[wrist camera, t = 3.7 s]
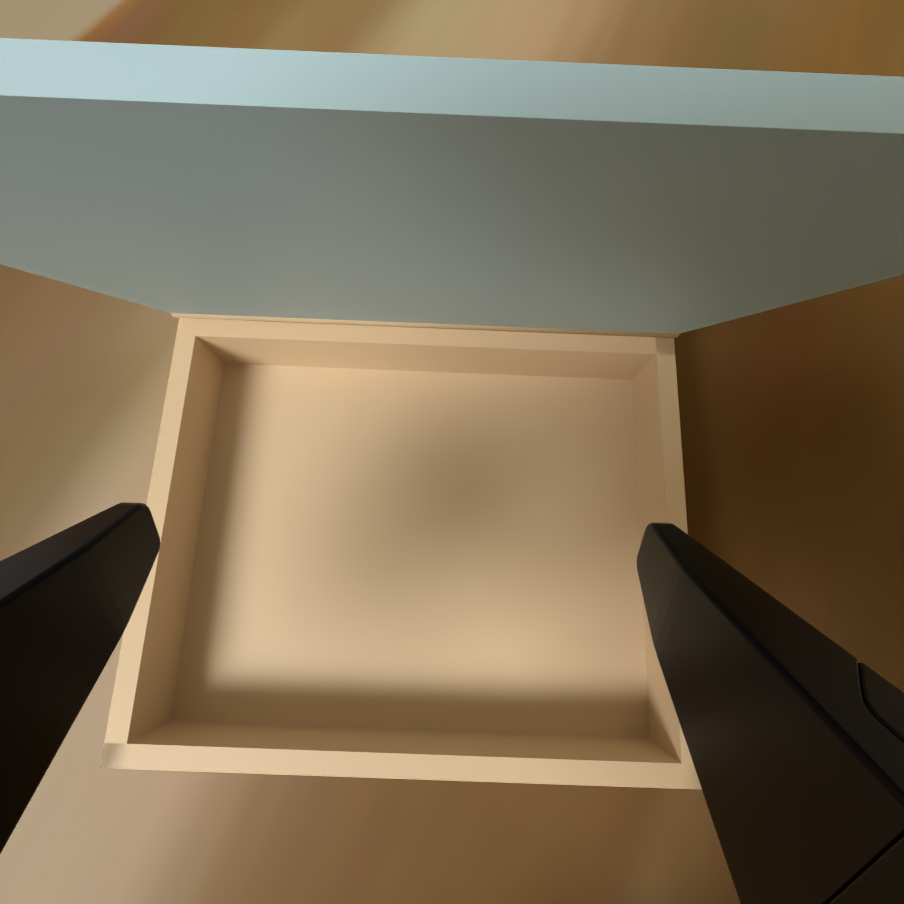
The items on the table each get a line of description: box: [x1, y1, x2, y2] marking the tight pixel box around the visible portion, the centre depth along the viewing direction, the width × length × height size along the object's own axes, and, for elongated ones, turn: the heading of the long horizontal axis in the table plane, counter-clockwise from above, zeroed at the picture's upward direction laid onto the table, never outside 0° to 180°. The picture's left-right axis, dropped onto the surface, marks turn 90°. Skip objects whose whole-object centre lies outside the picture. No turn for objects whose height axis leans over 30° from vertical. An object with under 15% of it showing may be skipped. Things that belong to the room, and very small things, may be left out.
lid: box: [0, 38, 904, 338], centre depth 10 cm, size 12×16×1 cm
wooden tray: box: [100, 318, 702, 790], centre depth 16 cm, size 13×16×2 cm
